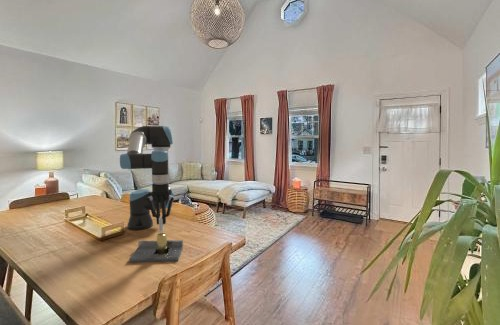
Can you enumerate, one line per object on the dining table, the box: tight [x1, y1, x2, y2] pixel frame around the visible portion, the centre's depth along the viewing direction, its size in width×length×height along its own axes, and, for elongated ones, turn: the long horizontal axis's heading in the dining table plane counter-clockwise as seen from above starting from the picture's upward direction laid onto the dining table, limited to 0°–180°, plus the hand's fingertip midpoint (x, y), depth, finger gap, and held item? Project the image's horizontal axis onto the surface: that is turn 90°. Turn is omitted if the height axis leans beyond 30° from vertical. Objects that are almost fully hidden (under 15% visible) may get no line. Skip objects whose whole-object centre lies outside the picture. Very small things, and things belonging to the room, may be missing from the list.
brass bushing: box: [156, 232, 168, 254], centre depth 126 cm, size 4×4×10 cm
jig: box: [128, 239, 184, 263], centre depth 126 cm, size 22×14×4 cm, turn 95°
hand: (161, 230), depth 125 cm, fingers closed
